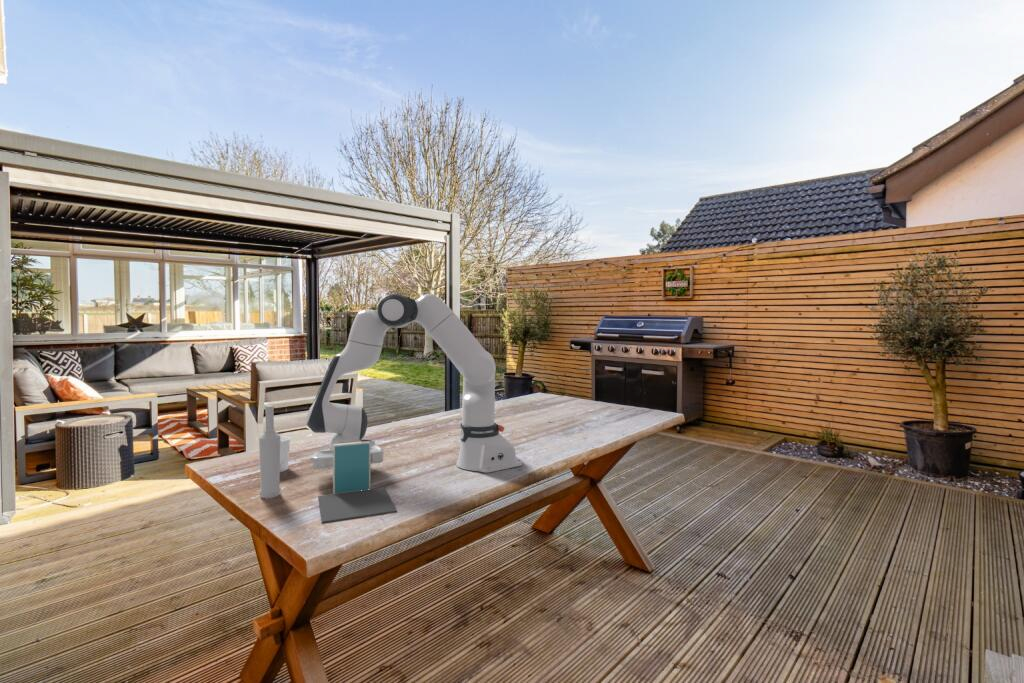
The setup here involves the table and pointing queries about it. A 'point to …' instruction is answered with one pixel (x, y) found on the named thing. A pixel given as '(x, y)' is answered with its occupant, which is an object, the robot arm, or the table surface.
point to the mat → (355, 505)
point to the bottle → (269, 457)
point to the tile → (351, 467)
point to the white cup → (284, 452)
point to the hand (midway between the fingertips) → (351, 465)
